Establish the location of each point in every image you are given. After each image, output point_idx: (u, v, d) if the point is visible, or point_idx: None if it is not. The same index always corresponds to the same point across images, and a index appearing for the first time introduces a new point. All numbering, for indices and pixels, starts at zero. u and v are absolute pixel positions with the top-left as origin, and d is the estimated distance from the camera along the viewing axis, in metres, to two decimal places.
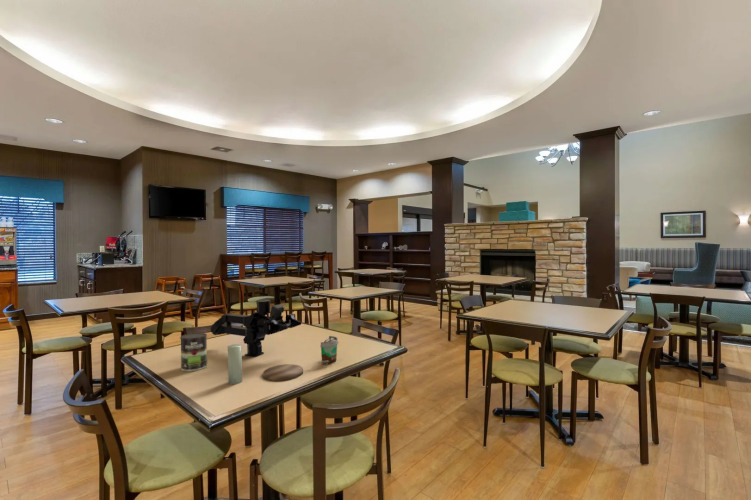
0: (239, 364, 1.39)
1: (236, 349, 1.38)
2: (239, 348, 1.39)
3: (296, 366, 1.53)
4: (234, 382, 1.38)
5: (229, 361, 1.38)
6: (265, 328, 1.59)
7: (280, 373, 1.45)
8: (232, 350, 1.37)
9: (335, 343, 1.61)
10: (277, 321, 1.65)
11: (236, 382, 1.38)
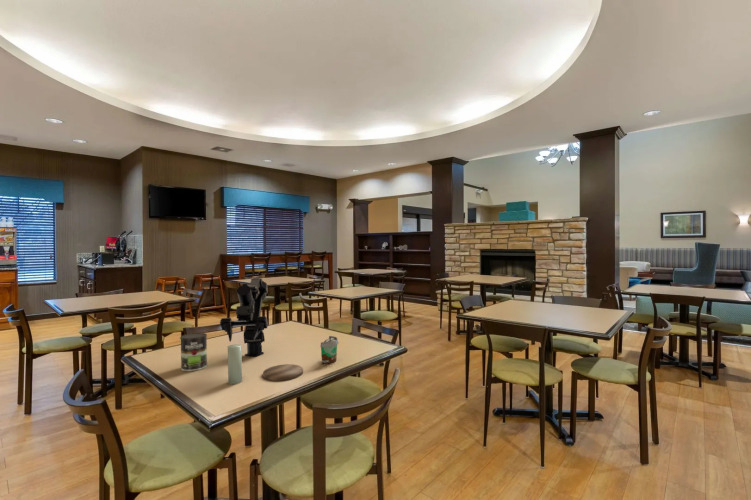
0: (239, 364, 1.39)
1: (236, 349, 1.38)
2: (239, 348, 1.39)
3: (296, 366, 1.53)
4: (234, 382, 1.38)
5: (229, 361, 1.38)
6: None
7: (280, 373, 1.45)
8: (232, 350, 1.37)
9: (335, 343, 1.61)
10: (239, 321, 1.53)
11: (236, 382, 1.38)
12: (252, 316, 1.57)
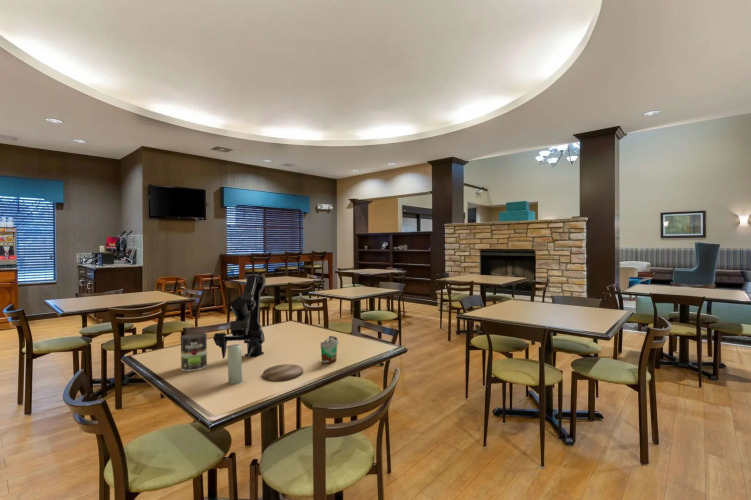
0: (239, 364, 1.39)
1: (236, 349, 1.38)
2: (239, 348, 1.39)
3: (296, 366, 1.53)
4: (234, 382, 1.38)
5: (229, 361, 1.38)
6: None
7: (280, 373, 1.45)
8: (232, 350, 1.37)
9: (335, 343, 1.61)
10: (233, 336, 1.46)
11: (236, 382, 1.38)
12: (247, 330, 1.50)
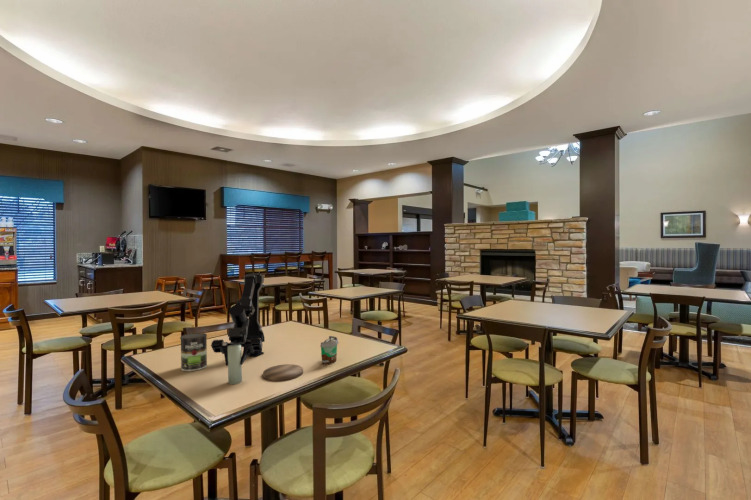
0: (239, 364, 1.39)
1: (236, 349, 1.38)
2: (239, 348, 1.39)
3: (296, 366, 1.53)
4: (234, 382, 1.38)
5: (229, 361, 1.38)
6: None
7: (280, 373, 1.45)
8: (232, 350, 1.37)
9: (335, 343, 1.61)
10: (232, 343, 1.43)
11: (236, 382, 1.38)
12: (246, 337, 1.48)
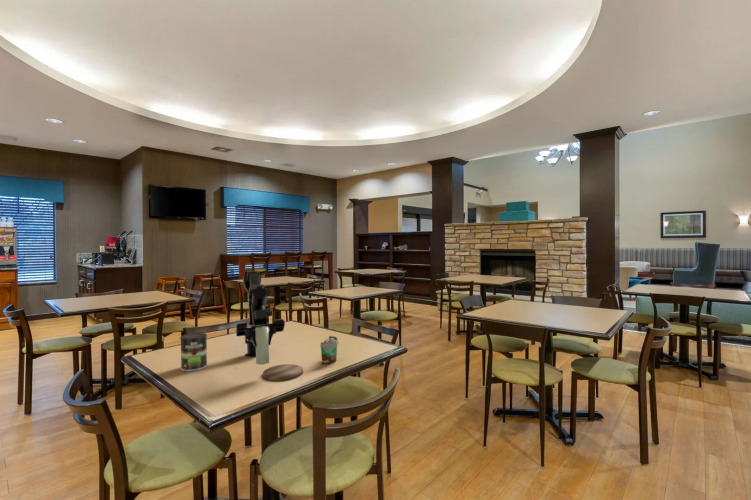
0: (268, 344, 1.43)
1: (266, 330, 1.42)
2: (267, 329, 1.43)
3: (296, 366, 1.53)
4: (264, 362, 1.41)
5: (259, 342, 1.41)
6: (236, 330, 1.44)
7: (280, 373, 1.45)
8: (262, 331, 1.41)
9: (335, 343, 1.61)
10: (256, 325, 1.46)
11: (266, 362, 1.42)
12: None
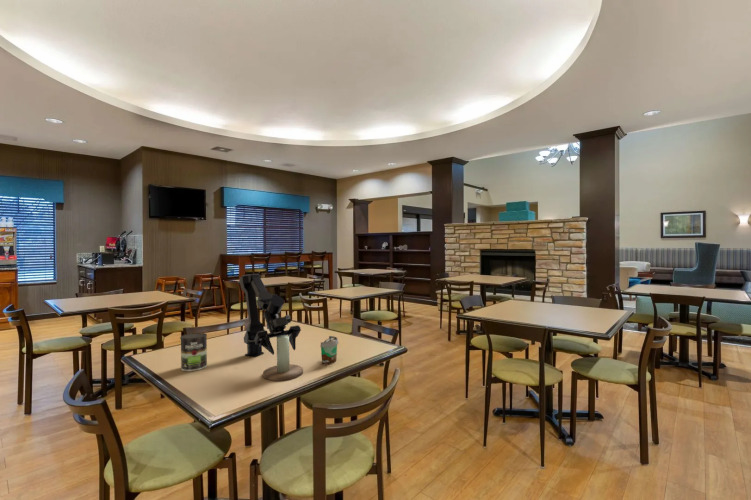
0: None
1: (288, 339, 1.47)
2: None
3: (296, 366, 1.53)
4: (286, 370, 1.47)
5: (281, 351, 1.46)
6: (256, 338, 1.46)
7: (280, 373, 1.45)
8: (285, 340, 1.46)
9: (335, 343, 1.61)
10: (274, 333, 1.50)
11: (287, 370, 1.47)
12: None
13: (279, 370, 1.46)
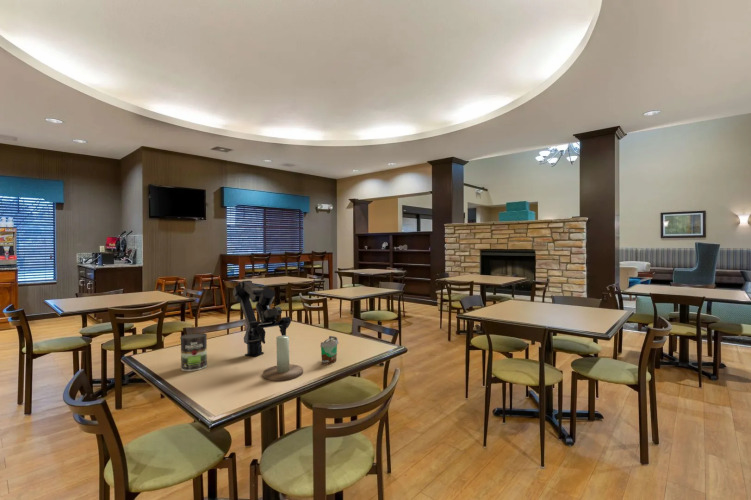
0: None
1: (287, 339, 1.47)
2: (288, 338, 1.48)
3: (296, 366, 1.53)
4: (286, 370, 1.47)
5: (281, 351, 1.46)
6: (248, 328, 1.53)
7: (280, 373, 1.45)
8: (284, 340, 1.46)
9: (335, 343, 1.61)
10: (266, 323, 1.57)
11: (287, 370, 1.47)
12: None
13: (279, 370, 1.46)
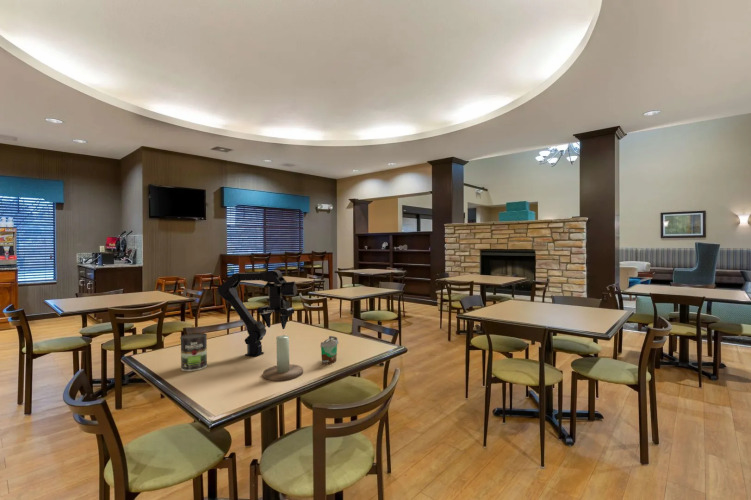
0: None
1: (287, 339, 1.47)
2: (288, 338, 1.48)
3: (296, 366, 1.53)
4: (286, 370, 1.47)
5: (281, 351, 1.46)
6: (290, 311, 1.69)
7: (280, 373, 1.45)
8: (284, 340, 1.46)
9: (335, 343, 1.61)
10: None
11: (287, 370, 1.47)
12: None
13: (279, 370, 1.46)
